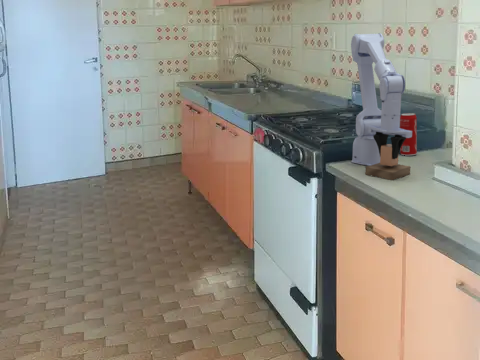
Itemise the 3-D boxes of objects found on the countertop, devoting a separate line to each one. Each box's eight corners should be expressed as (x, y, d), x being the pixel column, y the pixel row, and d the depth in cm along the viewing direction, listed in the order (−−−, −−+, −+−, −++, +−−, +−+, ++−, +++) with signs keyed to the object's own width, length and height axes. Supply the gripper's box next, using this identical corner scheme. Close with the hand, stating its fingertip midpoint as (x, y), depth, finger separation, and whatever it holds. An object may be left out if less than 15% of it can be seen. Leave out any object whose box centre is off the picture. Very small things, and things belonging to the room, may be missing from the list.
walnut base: (365, 174, 183) (365, 166, 182) (383, 168, 189) (383, 161, 189) (392, 180, 176) (392, 172, 175) (410, 174, 182) (410, 166, 181)
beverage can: (417, 156, 205) (419, 115, 201) (398, 156, 206) (400, 114, 202) (415, 152, 211) (418, 112, 207) (397, 152, 212) (399, 112, 208)
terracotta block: (380, 164, 182) (381, 145, 180) (387, 162, 185) (388, 143, 183) (390, 166, 179) (392, 147, 178) (397, 164, 182) (399, 145, 180)
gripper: (363, 113, 180) (362, 155, 184) (404, 118, 170) (401, 163, 173) (376, 111, 184) (374, 152, 188) (416, 115, 174) (414, 159, 178)
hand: (388, 157), depth 181 cm, fingers closed on terracotta block, 4 cm apart
